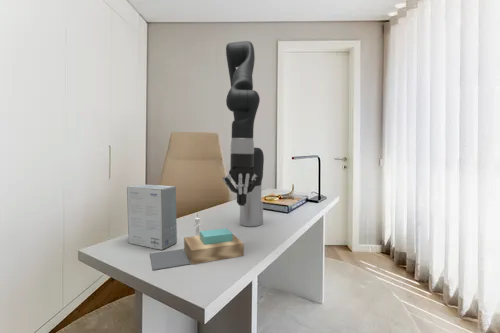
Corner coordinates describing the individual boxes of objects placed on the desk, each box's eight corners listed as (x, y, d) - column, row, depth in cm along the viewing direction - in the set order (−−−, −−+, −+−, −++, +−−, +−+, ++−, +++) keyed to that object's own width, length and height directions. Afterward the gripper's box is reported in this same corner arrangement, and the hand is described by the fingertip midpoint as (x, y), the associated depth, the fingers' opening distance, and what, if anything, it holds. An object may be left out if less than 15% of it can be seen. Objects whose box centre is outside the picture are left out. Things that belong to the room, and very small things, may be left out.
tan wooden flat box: (230, 243, 95) (230, 231, 95) (243, 255, 84) (243, 243, 84) (184, 249, 89) (184, 237, 89) (191, 264, 78) (191, 250, 78)
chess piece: (191, 238, 100) (191, 211, 99) (205, 238, 100) (204, 211, 100) (189, 243, 95) (189, 214, 94) (203, 242, 96) (203, 214, 95)
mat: (182, 249, 89) (182, 248, 89) (189, 264, 78) (189, 263, 78) (149, 254, 85) (149, 253, 85) (152, 270, 74) (152, 269, 74)
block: (226, 235, 91) (226, 228, 91) (232, 241, 86) (232, 233, 86) (199, 238, 88) (199, 231, 88) (204, 244, 82) (204, 237, 82)
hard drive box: (177, 243, 95) (177, 186, 93) (162, 250, 88) (161, 189, 86) (144, 236, 101) (143, 183, 100) (127, 243, 94) (125, 186, 93)
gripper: (256, 152, 95) (255, 202, 96) (219, 152, 89) (218, 204, 90) (265, 152, 88) (264, 206, 89) (226, 152, 82) (225, 209, 84)
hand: (241, 205), depth 90 cm, fingers closed
